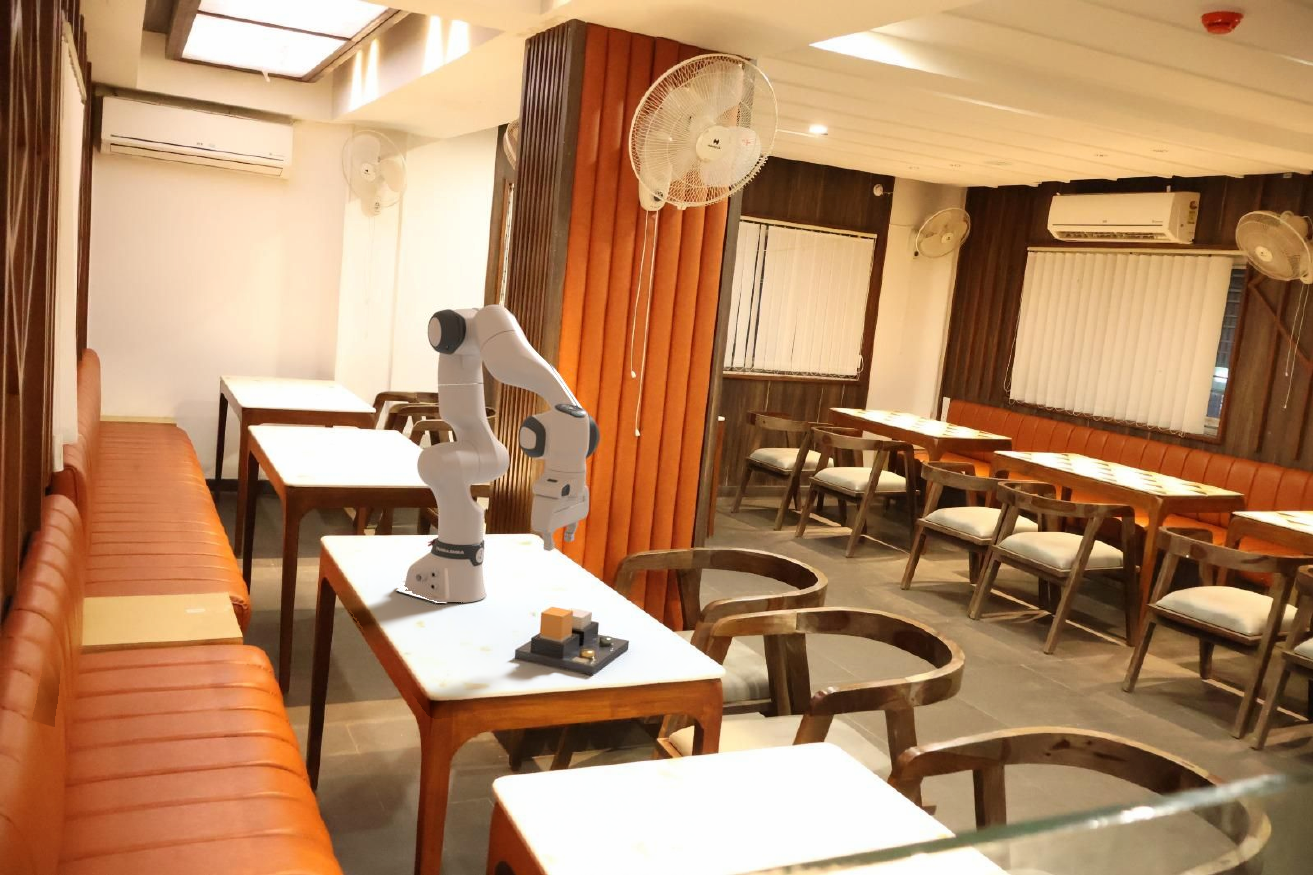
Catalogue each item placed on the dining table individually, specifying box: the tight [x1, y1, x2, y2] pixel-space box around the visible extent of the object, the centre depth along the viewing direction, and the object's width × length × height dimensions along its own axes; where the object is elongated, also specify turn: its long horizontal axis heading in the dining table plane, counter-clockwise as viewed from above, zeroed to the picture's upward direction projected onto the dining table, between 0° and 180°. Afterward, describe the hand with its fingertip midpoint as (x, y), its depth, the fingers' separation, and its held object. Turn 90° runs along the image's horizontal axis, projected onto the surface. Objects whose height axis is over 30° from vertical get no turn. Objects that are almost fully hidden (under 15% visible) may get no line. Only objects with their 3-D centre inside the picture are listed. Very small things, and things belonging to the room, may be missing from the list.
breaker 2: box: [568, 607, 593, 630], centre depth 234 cm, size 5×5×3 cm
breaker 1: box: [540, 634, 572, 642], centre depth 225 cm, size 5×5×3 cm
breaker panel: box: [514, 620, 630, 676], centre depth 229 cm, size 18×19×5 cm
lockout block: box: [539, 606, 573, 640], centre depth 225 cm, size 5×5×5 cm
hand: (558, 545), depth 227 cm, fingers open, 8 cm apart
